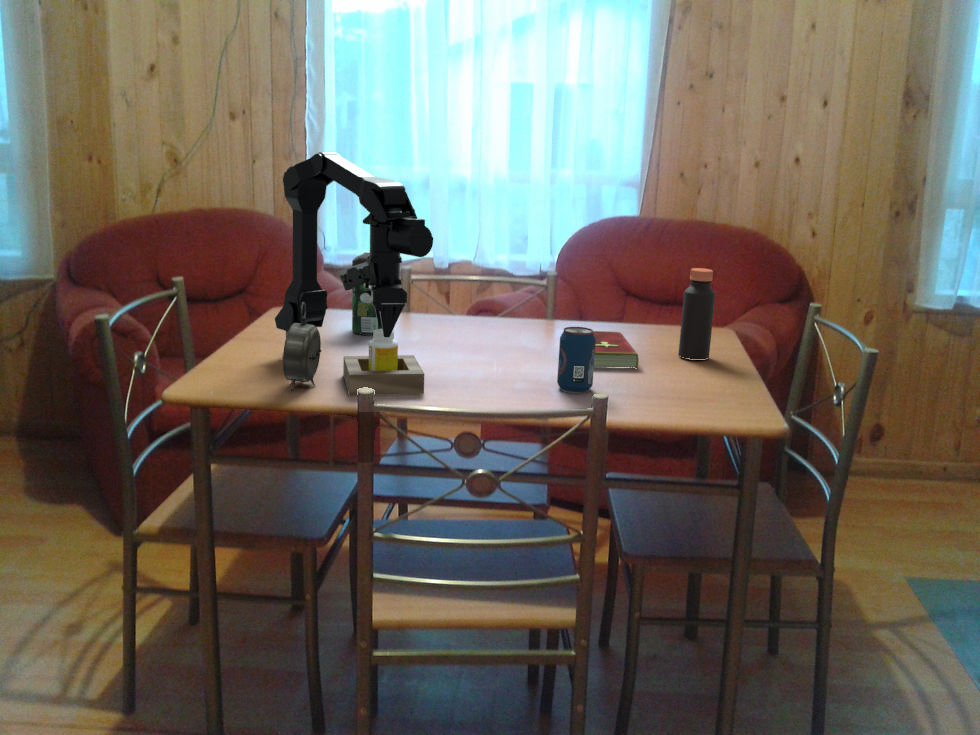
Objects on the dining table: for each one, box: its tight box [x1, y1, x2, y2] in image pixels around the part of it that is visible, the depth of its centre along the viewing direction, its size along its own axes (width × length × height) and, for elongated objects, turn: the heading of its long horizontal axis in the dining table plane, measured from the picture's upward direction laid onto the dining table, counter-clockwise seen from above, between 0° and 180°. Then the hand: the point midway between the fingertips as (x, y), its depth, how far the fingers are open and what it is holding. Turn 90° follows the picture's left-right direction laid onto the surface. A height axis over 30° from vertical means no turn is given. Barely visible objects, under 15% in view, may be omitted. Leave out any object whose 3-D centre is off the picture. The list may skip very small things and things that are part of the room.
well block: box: [343, 354, 425, 397], centre depth 196 cm, size 14×14×4 cm
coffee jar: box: [351, 252, 382, 336], centre depth 238 cm, size 10×8×19 cm
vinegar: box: [678, 267, 716, 359], centre depth 225 cm, size 7×7×20 cm
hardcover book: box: [593, 330, 640, 369], centre depth 225 cm, size 12×21×4 cm, turn 3°
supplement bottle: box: [368, 329, 399, 371], centre depth 195 cm, size 6×6×10 cm
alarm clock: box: [282, 302, 322, 392], centre depth 191 cm, size 11×5×16 cm, turn 174°
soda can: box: [556, 326, 596, 394], centre depth 197 cm, size 7×7×12 cm
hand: (383, 331), depth 193 cm, fingers open, 9 cm apart
